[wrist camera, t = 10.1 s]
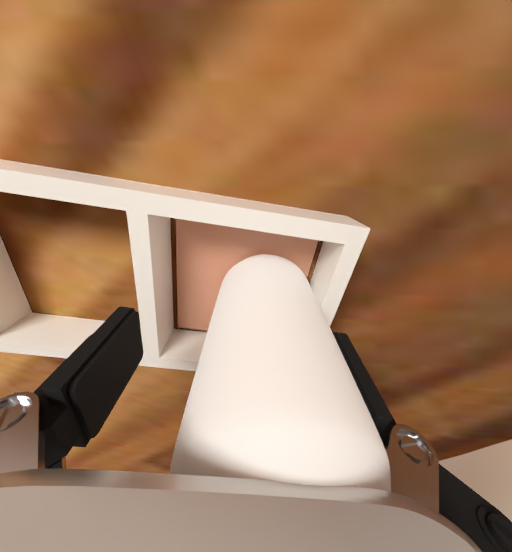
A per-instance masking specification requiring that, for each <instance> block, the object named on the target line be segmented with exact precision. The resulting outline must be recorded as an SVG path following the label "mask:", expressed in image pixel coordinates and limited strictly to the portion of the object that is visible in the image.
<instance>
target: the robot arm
mask: <svg viewBox="0 0 512 552" xmlns="http://www.w3.org/2000/svg"><path fill="white" fill-rule="evenodd" d="M333 335H334V337H335V339H336V342H337V344H338V346H339V348H340V350H341V352H342V354H343V357H344V359H345V361H346V363H347V365H348V367H349V369H350V372H351V374H352V376H353V378H354V380H355V382H356V385H357V387H358V389H359V391H360V393H361V395H362V398H363V400H364V402H365V404H366V406H367V409H368V411H369V413H370V415H371V417H372V419H373V422H374V424H375V426H376V429H377V431H378V433H379V435H380V438H381V440H382V442H383V445H384V448H385V450H386V453H387V456H388V459H389V465H390V475H391V492H389V491H385V490H378V489H372V488H365V487H354V486H310V485H300V484H292V483H286V482H280V481H275V480H261V479H245V478H229V477H213V476H197V475H180V474H163V473H145V472H128V471H110V470H84V469H66V457H65V456H67V454H68V453H69V451H70V450H71V448H72V447H73V446H76V447H86V445H87V444H88V442H89V440H90V439H91V438H94V437H95V436H96V435H97V434H98V433H99V431H100V429H101V428H102V426H103V424H104V422H105V421H106V419H107V417H108V416H109V414H110V412H111V411H112V409H113V407H114V405H115V404H116V402H117V400H118V399H119V397H120V395H121V394H122V392H123V390H124V389H125V387H126V385H127V383H128V382H129V380H130V378H131V377H132V375H133V373H134V372H135V370H136V368H137V366H138V365H139V363H140V361H141V360H142V357H143V344H142V337H141V329H140V321H139V314H138V312H135V309H134V308H128V307H119V308H117V310H116V311H115V312H114V313H113V314H112V315H111V316H110V317H109V318H108V319H107V320H106V321H105V322H104V323H103V324H102V325H101V326H100V327H99V328H98V329H97V330H96V331H95V332H94V333H93V334H91V335H90V336H89V337H88V338H87V339H86V340H85V341H84V342H83V343H82V344H81V345H80V346H79V347H78V348H77V349H76V350H75V351H74V352H73V353H72V354H71V355H70V356H69V357H68V358H67V359H66V360H65V361H64V362H63V363H62V364H61V365H60V366H59V367H58V368H57V369H56V370H55V371H54V372H53V373H52V374H51V375H50V376H49V377H48V378H47V379H46V380H45V381H44V382H43V383H42V384H41V385H40V386H39V387H38V388H37V389H36V390H35V392H34V393H33V392H27V391H26V392H17V393H14V394H10V395H7V396H5V397H3V398H1V399H0V552H512V522H511V521H510V520H509V519H508V518H507V517H506V516H505V515H503V514H502V513H501V512H500V511H499V510H498V509H496V508H495V507H494V506H493V505H491V504H490V503H489V502H487V501H486V500H485V499H483V498H482V497H481V496H480V495H478V494H477V493H476V492H475V491H473V490H472V489H471V488H469V487H468V486H467V485H466V484H464V483H463V482H462V481H460V480H459V479H458V478H457V477H455V476H454V475H453V474H451V473H450V472H449V471H448V470H446V469H445V468H443V467H442V466H441V465H440V464H439V462H438V457H437V455H436V453H435V451H434V449H433V447H432V446H431V445H430V443H429V442H428V441H427V440H426V439H425V438H424V436H423V435H421V434H420V433H419V432H418V431H416V430H415V429H413V428H411V427H410V426H407V425H404V424H396V422H395V420H394V419H393V417H392V415H391V413H390V411H389V410H388V408H387V406H386V404H385V402H384V401H383V399H382V397H381V395H380V393H379V391H378V390H377V388H376V386H375V384H374V382H373V381H372V379H371V377H370V375H369V373H368V372H367V370H366V368H365V366H364V365H363V363H362V361H361V359H360V358H359V356H358V354H357V352H356V350H355V348H354V347H353V345H352V343H351V341H350V339H349V338H348V336H347V334H345V333H337V332H333Z"/></svg>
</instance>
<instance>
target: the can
mask: <svg viewBox="0 0 512 552" xmlns="http://www.w3.org/2000/svg"><path fill="white" fill-rule="evenodd" d="M170 474H180V475H197V476H213V477H229V478H245V479H261V480H275V481H280V482H286V483H292V484H300V485H310V486H354V487H365V488H372V489H378V490H385V491H389V492H391V475H390V465H389V459H388V456H387V453H386V450H385V448H384V445H383V442H382V440H381V438H380V435H379V433H378V431H377V429H376V426H375V424H374V422H373V419H372V417H371V415H370V413H369V411H368V409H367V406H366V404H365V402H364V400H363V398H362V395H361V393H360V391H359V389H358V387H357V385H356V382H355V380H354V378H353V376H352V374H351V372H350V369H349V367H348V365H347V363H346V361H345V359H344V357H343V354H342V352H341V350H340V348H339V346H338V344H337V342H336V339H335V337H334V335H333V333H332V331H331V329H330V327H329V324H328V322H327V320H326V318H325V316H324V314H323V312H322V310H321V307H320V305H319V303H318V301H317V299H316V297H315V295H314V293H313V291H312V288H311V286H310V284H309V282H308V280H307V278H306V277H305V275H304V273H303V272H302V271H301V269H300V268H299V267H298V266H297V265H295V264H294V263H293V262H291V261H289V260H287V259H285V258H283V257H280V256H275V255H268V254H261V255H255V256H252V257H249V258H246V259H244V260H242V261H241V262H239V263H237V264H236V265H234V266H233V267H232V268H231V269H230V270H229V271H228V273H227V274H226V276H225V277H224V279H223V282H222V284H221V287H220V290H219V294H218V297H217V300H216V304H215V307H214V310H213V314H212V317H211V321H210V324H209V328H208V331H207V334H206V338H205V341H204V345H203V348H202V352H201V355H200V359H199V362H198V366H197V369H196V373H195V376H194V380H193V383H192V387H191V390H190V394H189V397H188V401H187V404H186V408H185V411H184V415H183V418H182V422H181V426H180V429H179V433H178V437H177V440H176V444H175V448H174V452H173V457H172V462H171V467H170Z"/></svg>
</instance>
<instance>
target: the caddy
mask: <svg viewBox="0 0 512 552" xmlns="http://www.w3.org/2000/svg"><path fill="white" fill-rule="evenodd" d="M0 192H6V193H13V194H20V195H26V196H33V197H39V198H46V199H52V200H59V201H65V202H72V203H78V204H85V205H91V206H98V207H104V208H111V209H117V210H124V211H126V213H127V221H128V229H129V237H130V245H131V253H132V261H133V269H134V276H135V284H136V292H137V300H138V308H139V316H140V324H141V325H140V329H141V337H142V344H143V357H142V360H141V361H140V363H139V366H149V367H159V368H169V369H179V370H189V371H196V369H197V366H198V362H199V359H200V355H201V352H202V348H203V345H204V341H205V338H206V334H207V332H198V331H190V330H181V329H174V316H173V285H172V254H171V223H170V218H176V257H177V305H178V327H180V328H189V329H198V330H207V331H208V328H209V324H210V321H211V317H212V314H213V310H214V307H215V304H216V300H217V297H218V294H219V290H220V287H221V284H222V282H223V279H224V277H225V276H226V274H227V273H228V271H229V270H230V269H231V268H232V267H233V266H234V265H236V264H237V263H239V262H241V261H242V260H244V259H246V258H249V257H252V256H255V255H261V254H268V255H275V256H280V257H283V258H285V259H287V260H289V261H291V262H293V263H294V264H295V265H297V266H298V267H299V268H300V269H301V271H302V272H303V273H304V275H305V277H306V278H307V276H308V273H309V270H310V266H311V263H312V260H313V257H314V253H315V250H316V247H317V244H318V240H320V241H323V243H322V246H321V250H320V253H319V256H318V259H317V262H316V265H315V269H314V272H313V275H312V278H311V281H310V286H311V288H312V291H313V293H314V295H315V297H316V299H317V301H318V303H319V305H320V307H321V310H322V312H323V314H324V316H325V318H326V320H327V322H328V324H329V327H330V325H331V323H332V321H333V318H334V316H335V313H336V311H337V308H338V306H339V304H340V301H341V299H342V296H343V294H344V291H345V289H346V287H347V284H348V282H349V279H350V277H351V275H352V272H353V270H354V267H355V265H356V262H357V260H358V258H359V255H360V253H361V250H362V248H363V245H364V243H365V241H366V238H367V236H368V233H369V231H370V228H369V227H367V226H365V225H363V224H361V223H359V222H357V221H356V220H354V219H352V218H350V217H348V216H344V215H337V214H331V213H325V212H319V211H313V210H307V209H301V208H295V207H289V206H283V205H277V204H270V203H264V202H258V201H252V200H246V199H240V198H234V197H228V196H222V195H216V194H209V193H203V192H197V191H191V190H185V189H179V188H173V187H167V186H161V185H155V184H149V183H142V182H136V181H130V180H124V179H118V178H112V177H106V176H100V175H94V174H88V173H81V172H75V171H69V170H63V169H57V168H51V167H45V166H39V165H33V164H27V163H21V162H14V161H8V160H2V159H0ZM104 322H105V321H102V320H93V319H84V318H76V317H67V316H58V315H49V314H40V313H32V310H31V308H30V306H29V303H28V301H27V298H26V296H25V294H24V291H23V289H22V286H21V284H20V282H19V279H18V277H17V274H16V272H15V270H14V267H13V265H12V263H11V260H10V258H9V255H8V253H7V251H6V248H5V246H4V243H3V241H2V239H1V236H0V352H9V353H19V354H29V355H39V356H49V357H59V358H68V357H69V356H70V355H71V354H72V353H73V352H74V351H75V350H76V349H77V348H78V347H79V346H80V345H81V344H82V343H83V342H84V341H85V340H86V339H87V338H88V337H89V336H90V335H91V334H93V333H94V332H95V331H96V330H97V329H98V328H99V327H100V326H101V325H102V324H103V323H104Z"/></svg>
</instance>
